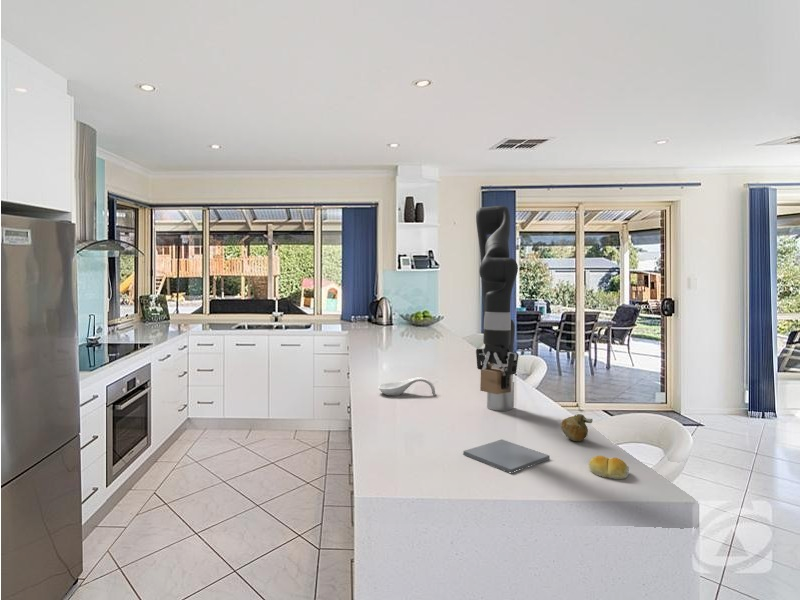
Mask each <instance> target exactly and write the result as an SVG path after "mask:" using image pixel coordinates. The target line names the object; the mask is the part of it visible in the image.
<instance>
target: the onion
mask: <svg viewBox="0 0 800 600" xmlns="http://www.w3.org/2000/svg"><path fill="white" fill-rule="evenodd" d="M592 423H593V418H587V417H585V415H584V414H575V415H573V416H568V417H566V418H564V419H563V420H562V421H561V423H560V429H561V431H562V433H563V434H564V435H565V436H566V437H567V439H569V440H571V441H573V442H582V441H585V439H586V438H587V437H588V433H589V429H588V425H587V424H592Z"/></svg>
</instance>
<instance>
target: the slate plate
mask: <svg viewBox="0 0 800 600" xmlns="http://www.w3.org/2000/svg"><path fill="white" fill-rule="evenodd" d="M462 453H463V454H462V455H463V456H466V457H468V458H471V459H473V460H476V461H478V462H481V463H484V464H485V465H488V466H491V467H493V466H494V468H496V467H497V468H496V469H498V468H500V469H499V470H501V469H502V471H503V470H505V471H504V472H506V471H508V472H511V473H510V474H513V473H512V472H514V471H516V470H519V469H522V468H524V469H526V468H525V467H527V468H529V467H528V466H530V467H532V466H534V464H535V465H537V463H538V464H541V463H543V462H546V461H548V460H550V455H549V454H547V453H544V452H542V451H538V450H535V449H532V448H530V447H529V448H528V447H525V446H523V445H520V444H517V443H514V442H511V441H508V440H505V439H499V440H496V441H493V442H489V443H485V444H482V445H479V446H476V447H472V448H468V449H465V450H463V452H462ZM545 460H546V461H545ZM531 465H532V466H531ZM522 470H523V469H522ZM519 471H520V470H519ZM508 472H507V473H508ZM516 472H517V471H516ZM514 473H515V472H514Z"/></svg>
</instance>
